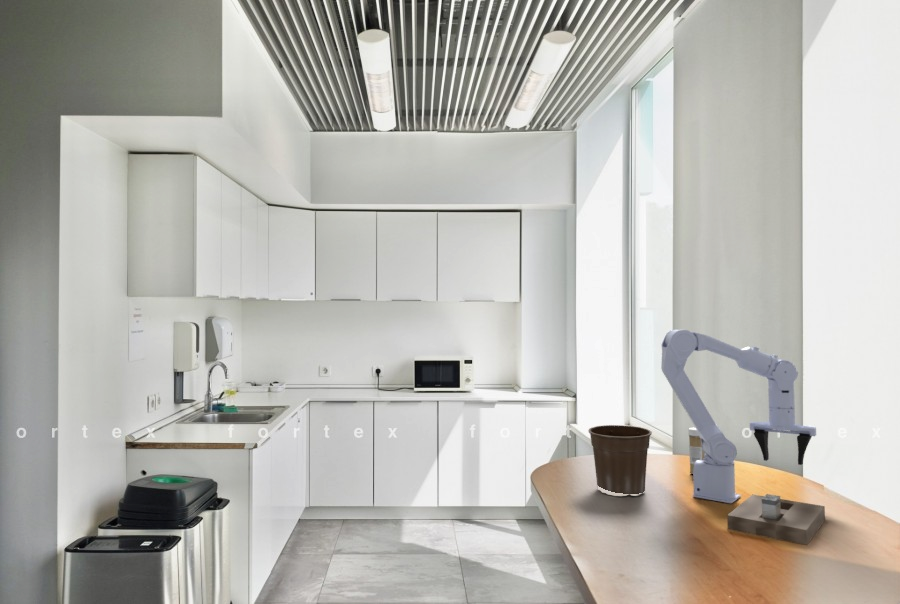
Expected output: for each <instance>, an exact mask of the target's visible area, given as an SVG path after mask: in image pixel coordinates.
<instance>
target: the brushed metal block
mask: <svg viewBox="0 0 900 604" xmlns="http://www.w3.org/2000/svg"><path fill="white" fill-rule="evenodd" d="M763 496H764V497H763V498H762V518H765V519H770V520H775V521H779V520H780V519H781V506H780V499H781V495H775V494H769V493H767V494H765V495H763Z"/></svg>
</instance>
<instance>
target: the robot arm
mask: <svg viewBox="0 0 900 604" xmlns="http://www.w3.org/2000/svg"><path fill="white" fill-rule="evenodd" d="M694 351H696V352H700V351H701V352H702V351H709V352H711V353H714V354H717V355H720V356H723V357H725V358H727V359H731V360H734V361H735V362H736V364H737V367H739V368H740V369H741V370H742V369H743V370H745V371H748V372H751V373H752V374H756V375H758V376H760V377H764V378H766V379H768V390H767V392H768V394H767V395H768V396H767V397H768V422H759V421H750V422H749V431H754V432H753V435H754V438H755V439H756V442H757V444H758V445H759V448H760V449H761V450H760V451H761V453H762V457H763V461H766V462H767V461H768V460H769V459H770V458H769V432H772V433H781V434H792V435H797V436H796V442H797V453H798V454H797V456H798V457H797V462H798V463H797V464H798V466H802V465H803V464H804V458H805V453H806V450H807V449H808V446H809V443H810V440H811V439H812V437H816V436H817V427H813V426H808V425H807V426H806V425H799V424H796V415H795V413H796V410H795V409H796V407H795V388H794V387H795V385H794V384H795V381H796V379H797V378H798V376H799V372H798V371H797V369H796V366H795V365H794V364H793V362H791V361H789V360H784V359H780V358H778V355H776V354H774V353H773V354H769V353H766V352H763V351H761V350H760V348H759V347H757V346H755V345H754V346H751V347H750V346H746V347H743V348H738V347H735V346H734V345H731V344H729V343H726V342H724V341H722V340H719V339H717V338H714V337H712V336H710V335H707V334H703V333H699V332H695V331H694V332H693V331H690V330H688V329H678V328H676V329H672V330H669V331H668V332H667V333H666V335H665V336H664V338H663V340H662V343H661V366H660V367H661V368H660V369H661V372H662V374H663V376H664V377H665V378H666V380H667V381H668V383H669V386H670V387H671V388H672V390H673V392H674V394H675V396H677V399H678V400H679V402H680V404H681V406H682V407H683V409H684V410H685V413H686V414H687V416H688V417H689V419H690V421H691V422H692V424H693V425H694V428H696V429H697V433H698V435H699V437H700V439H701V446H702V450H703V451H704V452H705V454H706V455H705V457H704V458H703V460H696V462H695V463H694V468H693V475H692V477H693V479H692V480H693V482H692V484H693V494H692V497H693V498H698V499H704V500H709V501H715V502H721V503H726V504H733V503H734V502H735V501H736V500H738V499H739V498H740V497H741V494H738V493H736V479H735V477H736V474H735V470H736V469H735V459H736V458H737V454H738V450H737V448H736V445H735V444H734V443H733V442H732V441H731V440H730V439H728V438H727V437H726V436H725V435H724V433H723V431H722V430H721V428H719V426H718V425H717V424H716V422H715V420H714V419H713V417H712V415H711V414H710V412H709V411H708V408H707V407H706V406H705V403H704V402H703V400H702V398H701V397H700V395H699V393H698V392H697V391H696V388H695V387H694V385H693V383H692V382H691V380H690V379H689V376H688V374H687V373H686V372H685V370H684V369H685V366H686V363H687V360H688V358H689V357H690V356H691V355H692V354H693V353H694Z"/></svg>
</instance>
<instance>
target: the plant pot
mask: <svg viewBox="0 0 900 604" xmlns="http://www.w3.org/2000/svg"><path fill="white" fill-rule="evenodd" d="M587 431H588V433H589V435H590V443H591V446H592V449H593V450H592V451H593V459H594V460H593V461H594V467H595V477H596V486H597V485H598V486H599V487H601V488H603V489H605V490H608V491H611V492H615V493H623V494H639V493H643V492H644V491H645V492H646V478H647V477H646V476H647V464H648V463H647V461H648V460H647V459H648V451H649V450H648V449H649V448H650V438H651V435H652V434H653V433H652V431H651V430H649V429H648V428H645V427H641V426H632V425H620V424H619V425H618V424H616V425H614V424H613V425H612V424H609V425H607V424H606V425H597V426H594V427H593V426H592V427H590V428H588V430H587Z"/></svg>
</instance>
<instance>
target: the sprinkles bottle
mask: <svg viewBox="0 0 900 604" xmlns="http://www.w3.org/2000/svg"><path fill="white" fill-rule="evenodd" d="M688 436H689V444H688V445H689V446H688V447H689V451H688V452H689V469H690V470H689V474H690V473H691V474H693V468H694V463H695V462H696V460H703V458H704V457H705V455H706V453H705V452H704V451H703V450H702V446H701V439H700V437H699V435H698V433H697V429H696V428H695V427H689V428H688ZM691 474H690V475H691Z"/></svg>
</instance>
